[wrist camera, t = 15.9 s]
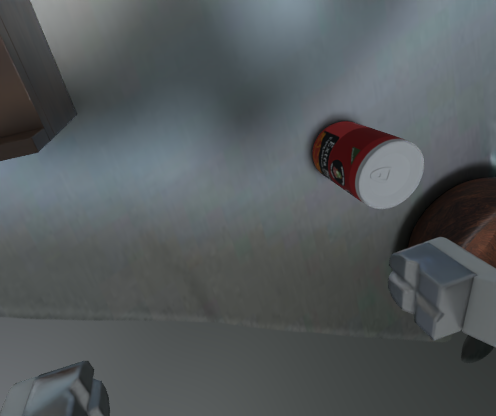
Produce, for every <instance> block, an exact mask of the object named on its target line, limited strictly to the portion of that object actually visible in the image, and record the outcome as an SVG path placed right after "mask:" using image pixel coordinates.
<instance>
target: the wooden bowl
mask: <svg viewBox="0 0 496 416" xmlns="http://www.w3.org/2000/svg"><path fill="white" fill-rule="evenodd" d="M438 237H443V238H447V239H448V240H450V241H452V242H453V243H455V244H457V245H458V246H460V247H461V248H463V249H465V250H466V251H468V252H470V253H471V254H473V255H475V256H476V257H478V258H479V259H481V260H483V261H484V262H486V263H488V264H489V265H491V266H492V267H494V268H496V177H490V178H480V179H475V180H471V181H467V182H464V183H462V184H459V185H457V186H455V187H453V188H452V189H450V190H448V191H447V192H445V193H444V194H442V195H441V196H440V197H439V198H437V199H436V200H435V201H434V202H433V203H432V204H431V205H430V206H429V207H428V208H427V209H426V211H425V212H424V213H423V214H422V216H421V217H420V219H419V220H418V222H417V224H416V225H415V227H414V229H413V231H412V234H411V237H410V240H409V244H408V248H410V247H413V246H415V245H418V244H421V243H424V242H426V241H429V240H432V239H435V238H438Z"/></svg>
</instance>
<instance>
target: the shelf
mask: <svg viewBox="0 0 496 416" xmlns="http://www.w3.org/2000/svg"><path fill="white" fill-rule="evenodd" d="M76 115H77V113H76V111H75V109H74V106H73V104H72V101H71V99H70V96H69V94H68V92H67V89H66V87H65V84H64V82H63V80H62V77H61V75H60V72H59V70H58V67H57V65H56V63H55V60H54V58H53V55H52V53H51V51H50V48H49V46H48V43H47V41H46V38H45V36H44V34H43V31H42V29H41V26H40V24H39V22H38V19H37V17H36V14H35V12H34V9H33V7H32V5H31V2H30V0H0V161H3V160H7V159H12V158H16V157H20V156H25V155H29V154H33V153H38V152H39V151H40V150H41V149H42V148H43V147H44V146H45V145H46V144H47V143H48V142H49V141H51V140H52V139H53V138H54V137H55V136H56V135H57V134H58V133H59V132H60V131H61V130H62V129H63V128H64V127H65V126H66V125H67V124H68V123H69V122H70V121H71V120H72V119H73V118H74V117H75V116H76Z"/></svg>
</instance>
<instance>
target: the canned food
mask: <svg viewBox="0 0 496 416" xmlns="http://www.w3.org/2000/svg"><path fill="white" fill-rule="evenodd" d="M312 155H313V161H314V164H315V166H316V168H317V169H318V171H319V172H320V173H321V174H323V175H324V176H326V177H327V178H328V179H330V180H331V181H333V182H334V183H336V184H337V185H338V186H340V187H341V188H343V189H344V190H345V191H347V192H348V193H350V194H351V195H353V196H354V197H355V198H357V199H358V200H360V201H362V202H363V203H365V204H366V205H368V206H370V207H372V208H376V209H387V208H391V207H394V206H396V205H398V204H400V203H402V202H403V201H404V200H406V199H407V198H408V197H409V196H410V195H411V194H412V193H413V192H414V190H415V189H416V188H417V186H418V184H419V183H420V180H421V178H422V175H423V171H424V158H423V155H422V152H421V151H420V149H419V148H418V147H417V146H416V145H415V144H413V143H411V142H409V141H407V140H404V139H401V138H399V137H396V136H393V135H390V134H387V133H384V132H381V131H378V130H375V129H372V128H369V127H366V126H363V125H360V124H357V123H354V122H349V121H343V122H337V123H334V124H332V125H330V126H328V127H326V128H325V129H324V130H323V131H322V132H321V133H320V134H319V136H318V137H317V139H316V141H315V143H314V146H313V152H312Z"/></svg>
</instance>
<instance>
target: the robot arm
mask: <svg viewBox="0 0 496 416" xmlns="http://www.w3.org/2000/svg"><path fill="white" fill-rule="evenodd" d="M389 266H390V267H391V268H392V269H393V272H392V273H391V275H390V276H389V278H388V288H389V290H390V293H391V296H392V298H393V299H394V301H395V302H396V304H397V305H398V306H399V307H400V308H401V309H402V310H404V311H407V312H410V313H412V314H414V321H415V323H416V324H417V325H418V326H419V327H420V328H421V329H422V330H423V331H424V332H425V333H426V334H427V335H428V336H430V337H431V338H432V339H433V340H437V339H439V338H442V337H445V336H448V335H450V334H453V333H456V332H458V331H461V330H462V331H463V332H464V333H466V334H468V335H470V336H472V337H474V338H477V339H479V340H481V341H483V342H485V343H487V344H490V345H492V346H494V347H496V268H494V267H492V266H491V265H489V264H488V263H486V262H484V261H483V260H481V259H479V258H478V257H476V256H475V255H473V254H471V253H470V252H468V251H466V250H465V249H463V248H461V247H460V246H458V245H457V244H455V243H453V242H452V241H450V240H448V239H447V238H443V237H438V238H435V239H432V240H429V241H426V242H424V243H421V244H418V245H415V246H413V247H410V248H407V249H404V250H401V251H399V252H396V253H393V254H392V255H391V257H390V260H389ZM93 375H94V369H93V367H92V366H91V364H90V363H89V361H82V362H79V363H75V364H72V365H70V366H66V367H63V368H60V369H57V370H54V371H51V372H48V373H44V374H41V375H39V376H37V377H34V378H30V379H27V380H24V381H21V382H18V383H15V384H14V385H13V387H11V389H10V390H9V392H8V394H7V396H6V399H5V401H4V404H3V406H2V409H1V412H0V416H110V407H109V397H108V394H107V391H106V388H105V386H104V385H103V383H102V381H99V380H96V379H93Z"/></svg>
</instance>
